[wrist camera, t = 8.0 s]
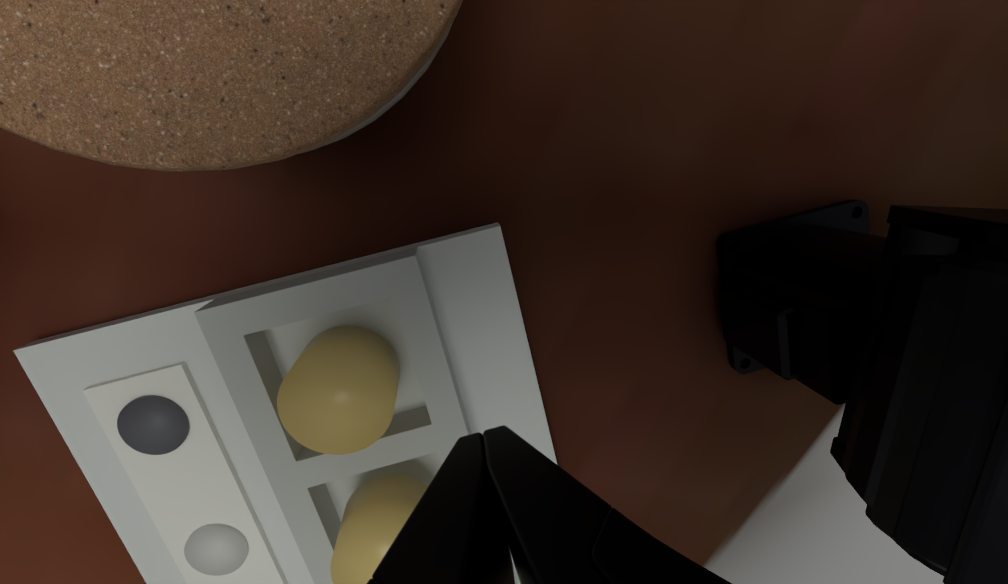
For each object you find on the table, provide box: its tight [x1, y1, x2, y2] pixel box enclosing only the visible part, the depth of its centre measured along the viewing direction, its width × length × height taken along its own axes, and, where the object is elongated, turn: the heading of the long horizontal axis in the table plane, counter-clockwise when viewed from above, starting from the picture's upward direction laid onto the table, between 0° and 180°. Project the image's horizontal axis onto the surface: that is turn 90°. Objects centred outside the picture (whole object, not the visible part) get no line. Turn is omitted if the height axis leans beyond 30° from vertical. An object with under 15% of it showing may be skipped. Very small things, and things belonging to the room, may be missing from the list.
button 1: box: [277, 326, 400, 455], centre depth 18 cm, size 4×4×3 cm
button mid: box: [330, 475, 428, 584], centre depth 19 cm, size 4×4×3 cm
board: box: [13, 222, 557, 584], centre depth 21 cm, size 18×20×3 cm
